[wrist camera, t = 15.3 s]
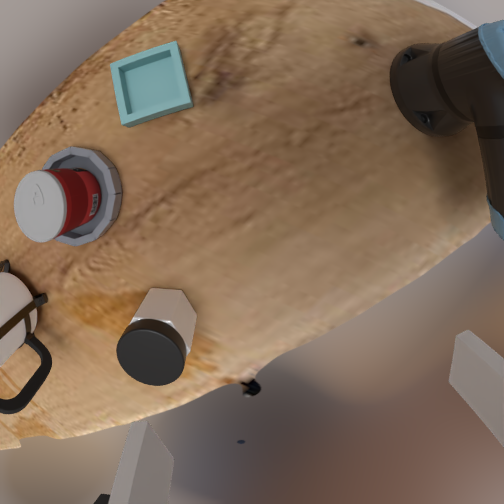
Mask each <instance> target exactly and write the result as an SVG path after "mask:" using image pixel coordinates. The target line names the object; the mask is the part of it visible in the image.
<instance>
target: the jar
mask: <svg viewBox="0 0 504 504" xmlns="http://www.w3.org/2000/svg"><path fill="white" fill-rule="evenodd" d="M196 319H197V314H196V313H195V311H194V309H193V308H192V306H191V304H190V303H189V301H188V299H187V298H186V296H185V294H184V293H183V291H182V290H175V289H162V288H150V290H149V291H148V293H147V295H146V296H145V298H144V300H143V301H142V303H141V305H140V306H139V308H138V310H137V312H136V313H135V315H134V317H133V318H132V320H131V322H130V324H129V326H128V327H127V328H126V329H125V331H124V333H123V334H122V336H121V338H120V340H119V341H118V344H117V350H116V352H117V358H118V361H119V363H120V365H121V367H122V368H123V369H124V371H125V372H126V373H127V374H128V375H130V376H131V377H132V378H134V379H135V380H137V381H139V382H141V383H144V384H148V385H154V386H161V385H166V384H169V383H172V382H174V381H175V380H176V379H178V378H179V376H180V375H181V374H182V372H183V369H184V365H185V360H186V356H187V355H188V353H189V352H190V350H191V345H192V340H193V335H194V330H195V324H196Z"/></svg>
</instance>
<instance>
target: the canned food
mask: <svg viewBox="0 0 504 504" xmlns="http://www.w3.org/2000/svg"><path fill="white" fill-rule="evenodd" d="M100 203H101V189H100V185H99V183H98V181H97V179H96V178H95V176H94V175H93V174H91V173H90V172H89V171H87V170H86V169H83V168H60V169H44V170H37V171H34V172H31V173H29V174H27V175H26V176H25V177H24V178H23V179H22V180H21V182H20V183H19V185H18V187H17V190H16V193H15V198H14V211H15V216H16V220H17V223H18V225H19V227H20V229H21V230H22V232H23V233H24V234H25V235H26V236H27V237H28V238H30V239H31V240H33V241H35V242H46V241H50V240H52V239H54V238H57V237H59V236H61V235H63V234H65V233H67V232H69V231H71V230H73V229H75V228H77V227H79V226H82V225H84V224H86V223H88V222H89V221H91V220H92V219H93V218H94V216H95V215H96V213H97V212H98V209H99V207H100Z"/></svg>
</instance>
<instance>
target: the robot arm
mask: <svg viewBox="0 0 504 504" xmlns="http://www.w3.org/2000/svg"><path fill="white" fill-rule="evenodd" d="M390 82H391V88H392V92H393V95H394V98H395V101H396V103H397V105H398V107H399V109H400V110H401V112H402V113H403V115H404V116H405V117H406V119H407V120H408V121H409V122H410V123H411V124H412V125H413V126H414V127H416V128H417V129H418V130H420V131H421V132H423V133H425V134H428V135H431V136H450V135H453V134H456V133H458V132H459V131H461V130H462V129H464V128H465V127H467V126H468V125H470V124H471V123H473V122H474V123H475V127H476V131H477V135H478V140H479V145H480V150H481V155H482V160H483V166H484V173H485V180H486V188H487V196H486V197H487V202H488V205H489V209H490V217H491V223H492V226H493V228H494V230H495V231H496V233H497V234H498V235H499V237H500V238H501V239H503V240H504V20H500V21H497V22H493V23H485V24H483V25H481V26H480V27H478V28H476V29H474V30H471V31H469V32H467V33H464V34H462V35H460V36H458V37H455V38H453V39H451V40H449V41H447V42H444V43H442V44H429V43H420V44H414V45H411V46H409V47H407V48H406V49H404V50H402V51H401V52H399V53H398V54H397V56H396V57H395V59H394V60H393V63H392V66H391V71H390ZM449 383H450V384H451V385H452V386H453V387H454V389H455V390H456V391H457V392H458V393H459V394H460V395H461V397H462V398H463V399H464V400H465V401H466V402H467V403H468V405H469V406H470V407H471V408H472V409H473V410H474V411H475V413H476V414H477V415H478V416H479V417H480V419H481V420H482V421H483V422H484V423H485V425H486V426H487V427H488V428H489V430H490V431H491V432H492V433H493V434H494V436H495V437H496V438H497V439H498V441H499V442H500V443H501V444H502V446H503V447H504V359H503V358H502V357H501V356H500V355H499V354H498V353H496V352H495V351H494V350H493V349H492V348H490V347H489V346H488V345H487V344H486V343H484V342H483V341H482V340H481V339H480V338H478V337H477V336H476V335H475V334H473V333H472V332H471V331H470V330H466V331H464V332H462V333H460V334H458V335H457V336H456V339H455V346H454V353H453V360H452V366H451V372H450V377H449ZM173 463H174V458H173V457H172V455H171V454H170V452H169V451H168V450H167V448H166V447H165V446H164V444H163V443H162V441H161V440H160V438H159V437H158V435H157V434H156V432H155V431H154V429H153V428H152V426H151V425H150V423H149V422H148V421H140V422H139V421H138V422H132V423H131V426H130V429H129V433H128V436H127V439H126V442H125V446H124V449H123V452H122V456H121V459H120V462H119V466H118V469H117V473H116V477H115V481H114V484H113V487H112V491H111V495H107V494H101V495H100V496H99V497H98V499H97V500H96V501H95V502H94V504H168V502H169V494H170V486H171V478H172V470H173Z"/></svg>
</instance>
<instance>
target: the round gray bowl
mask: <svg viewBox="0 0 504 504" xmlns="http://www.w3.org/2000/svg"><path fill="white" fill-rule="evenodd" d="M60 168H83V169H86V170H87V171H89V172H90V173H91V174H93V175H94V176H95V178H96V179H97V181H98V183H99V185H100V189H101V203H100V207H99V209H98V212H97V213H96V215H95V216H94V218H93V219H92V220H91V221H89V222H88V223H86V224H84V225H82V226H79V227H77V228H75V229H73V230H71V231H69V232H67V233H65V234H63V235H61V236H59V237H57V238H54V239H55V240H56V241H59V242H62V243H66V244H69V245H72V246H79V245H82V244H85V243H88V242H91V241H94V240H96V239H98V238H99V237H101V236H102V235H104V233H105V232H106V231H107V230H108V229H109V228H110V227H111V226H112V224H113V223H114V221H115V220H116V219H117V217H118V213H119V210H120V207H121V201H122V186H121V181H120V177H119V174H118V172H117V170H116V168H115V166H114V165H113V163H112V162H111V161H110V160H109V159H108V158H107V157H106V156H105V155H103V154H102V153H101V152H100V151H97V150H92V149H87V148H81V147H72V146H71V147H68V148H66V149H64V150H62V151H60V152H58V153H56V154H54V155H52V156H50V158H49V159H48V161H47V162H46V164H45V165H44V167H43V168H42V170H44V169H60Z"/></svg>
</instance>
